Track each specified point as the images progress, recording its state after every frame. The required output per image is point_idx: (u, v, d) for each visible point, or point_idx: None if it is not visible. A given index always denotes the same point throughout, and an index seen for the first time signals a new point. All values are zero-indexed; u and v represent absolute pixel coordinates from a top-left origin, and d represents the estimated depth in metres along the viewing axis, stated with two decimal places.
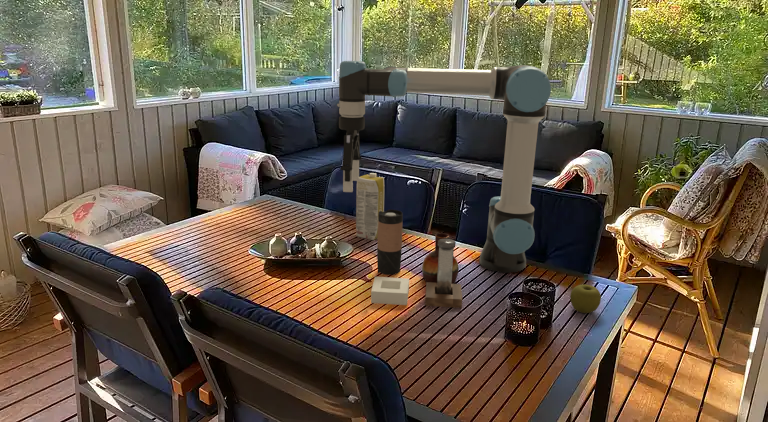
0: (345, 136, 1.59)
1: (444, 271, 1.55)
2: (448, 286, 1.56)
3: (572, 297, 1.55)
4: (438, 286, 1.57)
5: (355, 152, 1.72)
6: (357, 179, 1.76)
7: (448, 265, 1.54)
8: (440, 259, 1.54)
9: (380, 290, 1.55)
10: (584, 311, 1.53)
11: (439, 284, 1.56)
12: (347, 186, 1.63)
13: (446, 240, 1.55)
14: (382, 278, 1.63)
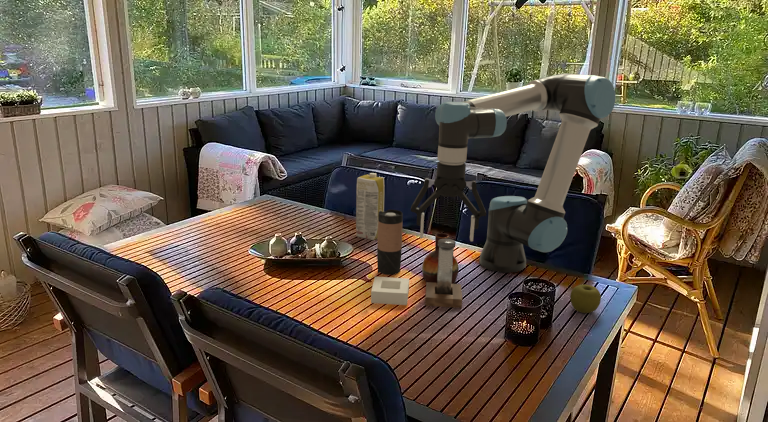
0: (425, 178, 1.50)
1: (444, 271, 1.55)
2: (448, 286, 1.56)
3: (572, 297, 1.55)
4: (438, 286, 1.57)
5: (468, 207, 1.50)
6: (470, 239, 1.52)
7: (448, 265, 1.54)
8: (440, 259, 1.54)
9: (380, 290, 1.55)
10: (584, 311, 1.53)
11: (439, 284, 1.56)
12: None
13: (446, 240, 1.55)
14: (382, 278, 1.63)
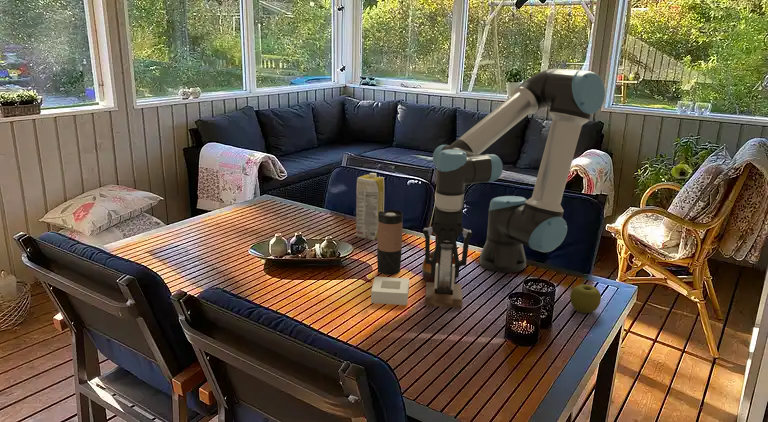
0: (423, 229, 1.54)
1: (444, 271, 1.55)
2: (448, 286, 1.56)
3: (572, 297, 1.55)
4: (438, 286, 1.57)
5: None
6: (451, 287, 1.57)
7: (448, 265, 1.54)
8: (440, 259, 1.54)
9: (380, 290, 1.55)
10: (584, 311, 1.53)
11: (439, 284, 1.56)
12: None
13: None
14: (382, 278, 1.63)
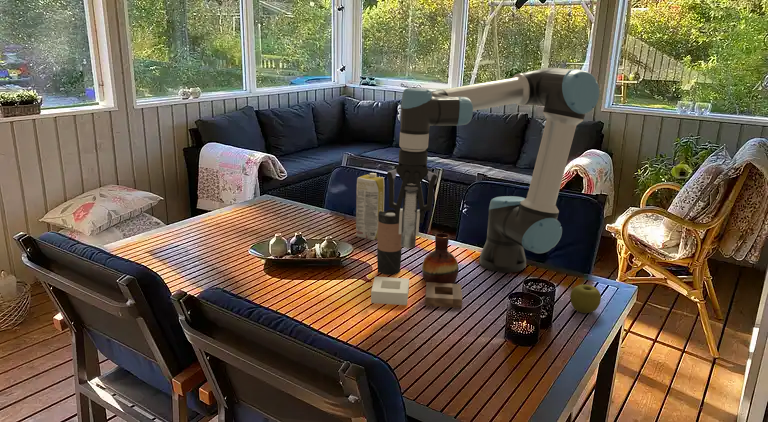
0: (387, 172, 1.50)
1: (408, 216, 1.50)
2: (413, 232, 1.52)
3: (572, 297, 1.55)
4: (402, 232, 1.52)
5: (418, 198, 1.50)
6: None
7: (412, 209, 1.50)
8: (404, 203, 1.50)
9: (380, 290, 1.55)
10: (584, 311, 1.53)
11: (403, 229, 1.52)
12: None
13: (411, 184, 1.50)
14: (382, 278, 1.63)
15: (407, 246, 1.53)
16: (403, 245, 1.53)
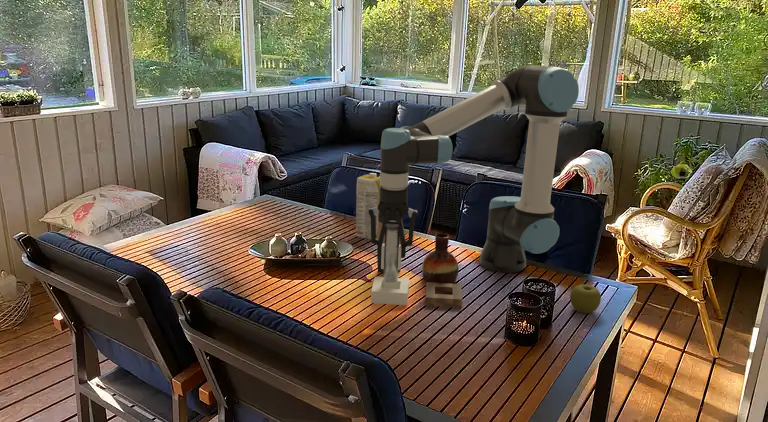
0: (369, 209, 1.54)
1: (390, 252, 1.54)
2: (395, 267, 1.55)
3: (572, 297, 1.55)
4: (385, 267, 1.56)
5: None
6: None
7: (394, 245, 1.53)
8: (386, 239, 1.54)
9: (380, 290, 1.55)
10: (584, 311, 1.53)
11: (385, 264, 1.56)
12: None
13: (392, 220, 1.54)
14: (382, 278, 1.63)
15: (389, 281, 1.56)
16: (385, 280, 1.57)
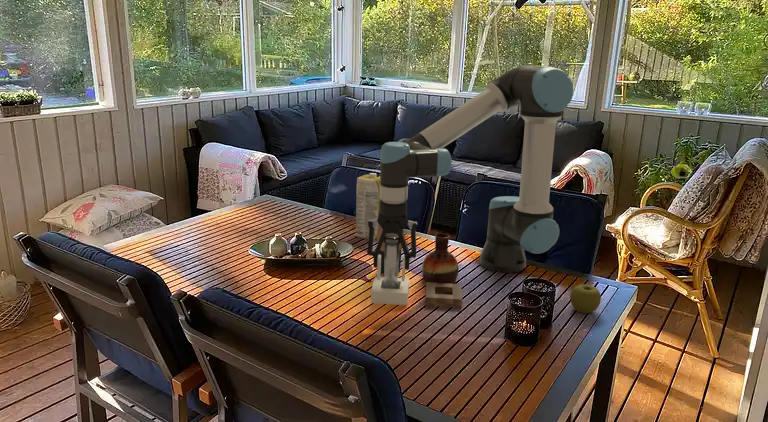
0: (369, 220, 1.55)
1: (389, 267, 1.55)
2: (395, 282, 1.57)
3: (572, 297, 1.55)
4: (385, 282, 1.57)
5: (402, 246, 1.55)
6: None
7: (393, 260, 1.55)
8: (386, 255, 1.55)
9: (380, 290, 1.55)
10: (584, 311, 1.53)
11: (385, 279, 1.57)
12: None
13: (392, 236, 1.56)
14: (382, 278, 1.63)
15: None
16: None
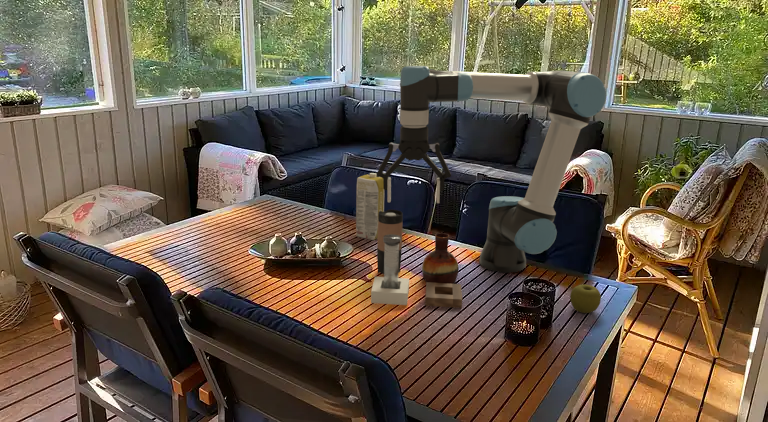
0: (389, 143, 1.53)
1: (389, 267, 1.55)
2: (394, 282, 1.57)
3: (572, 297, 1.55)
4: (385, 282, 1.58)
5: (432, 169, 1.53)
6: None
7: (393, 260, 1.55)
8: (385, 255, 1.55)
9: (380, 290, 1.55)
10: (584, 311, 1.53)
11: (385, 279, 1.57)
12: None
13: (392, 236, 1.56)
14: (382, 278, 1.63)
15: None
16: None
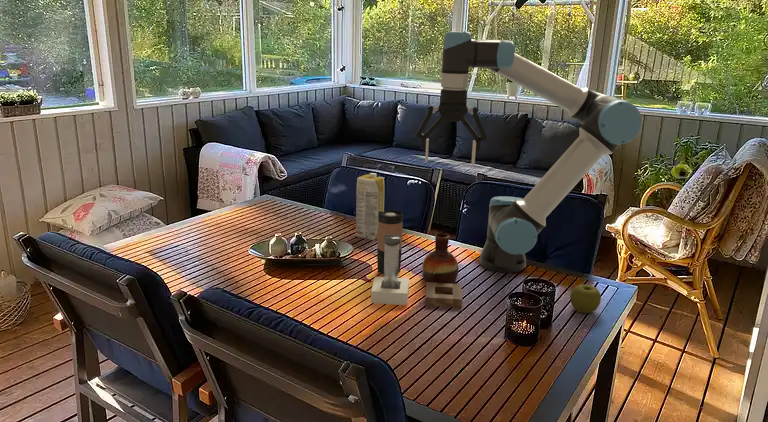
0: None
1: (389, 267, 1.55)
2: (395, 282, 1.57)
3: (572, 297, 1.55)
4: (385, 282, 1.57)
5: (469, 131, 1.61)
6: (472, 162, 1.63)
7: (393, 260, 1.55)
8: (386, 255, 1.55)
9: (380, 290, 1.55)
10: (584, 311, 1.53)
11: (385, 279, 1.57)
12: None
13: (392, 236, 1.56)
14: (382, 278, 1.63)
15: None
16: None
